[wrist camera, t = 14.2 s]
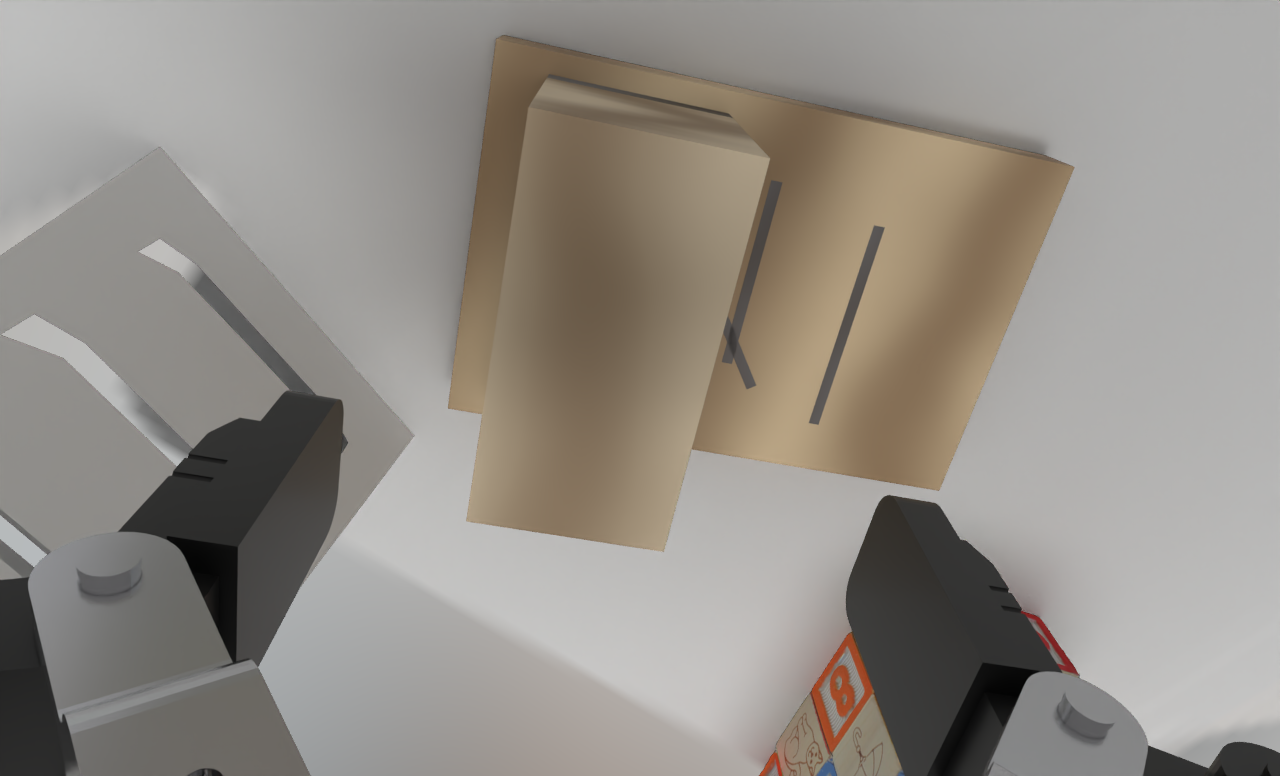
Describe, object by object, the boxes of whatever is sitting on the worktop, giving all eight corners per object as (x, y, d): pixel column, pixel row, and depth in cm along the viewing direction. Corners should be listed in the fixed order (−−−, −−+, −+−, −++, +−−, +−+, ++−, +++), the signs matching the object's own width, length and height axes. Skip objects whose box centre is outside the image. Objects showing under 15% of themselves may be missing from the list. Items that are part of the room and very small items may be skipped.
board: (1045, 155, 24) (1074, 167, 22) (921, 464, 28) (939, 490, 26) (503, 35, 22) (495, 38, 20) (456, 384, 26) (447, 408, 24)
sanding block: (728, 113, 21) (770, 158, 16) (651, 428, 25) (663, 551, 20) (549, 73, 21) (528, 107, 15) (497, 401, 24) (466, 520, 19)
